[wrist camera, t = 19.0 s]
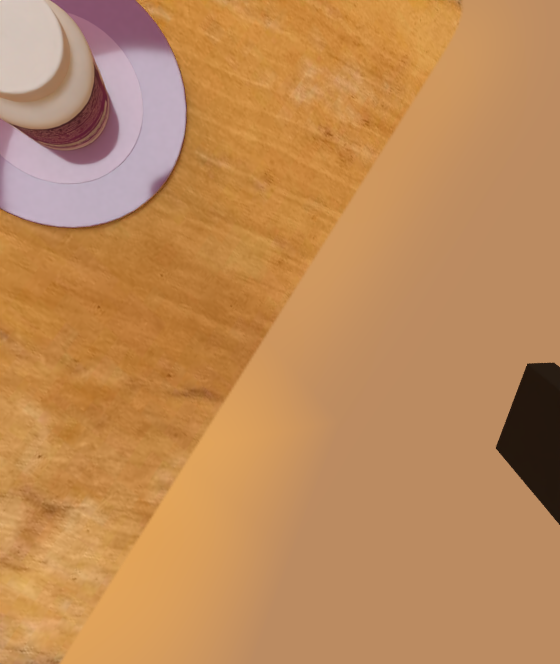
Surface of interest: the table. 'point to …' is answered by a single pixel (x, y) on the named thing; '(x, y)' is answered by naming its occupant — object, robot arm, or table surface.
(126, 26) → the saucer
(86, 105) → the pill bottle
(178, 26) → the table surface
